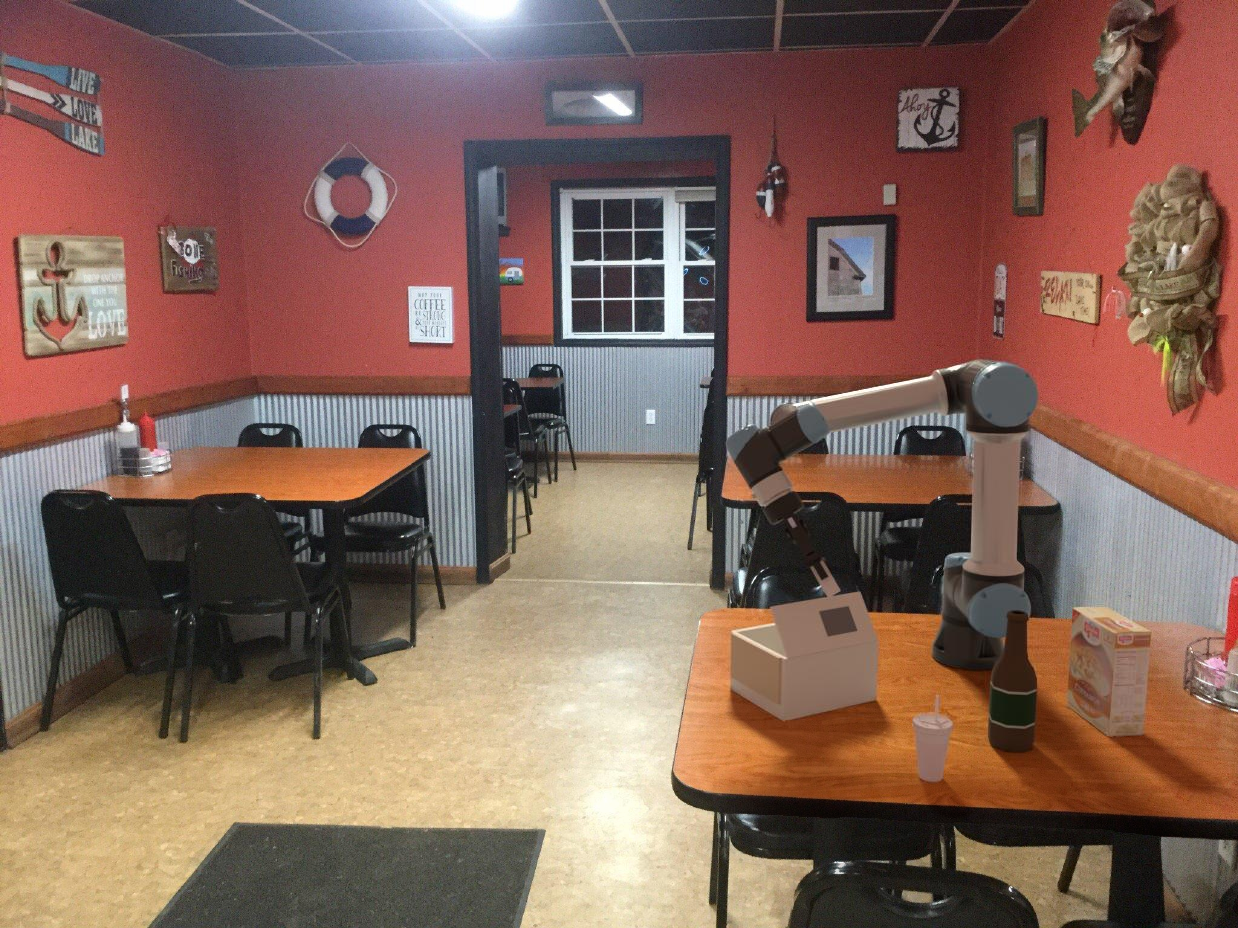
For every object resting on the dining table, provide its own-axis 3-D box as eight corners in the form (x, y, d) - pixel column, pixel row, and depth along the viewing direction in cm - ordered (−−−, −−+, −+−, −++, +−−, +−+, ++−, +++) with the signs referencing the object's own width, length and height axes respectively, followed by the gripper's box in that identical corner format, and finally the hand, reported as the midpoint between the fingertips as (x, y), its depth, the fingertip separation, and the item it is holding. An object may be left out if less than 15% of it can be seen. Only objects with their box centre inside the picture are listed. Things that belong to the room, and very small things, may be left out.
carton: (726, 688, 214) (726, 631, 212) (819, 669, 224) (821, 614, 222) (780, 721, 197) (782, 659, 195) (878, 699, 208) (881, 640, 206)
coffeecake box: (1064, 704, 205) (1071, 606, 201) (1100, 703, 205) (1107, 605, 202) (1106, 737, 190) (1114, 632, 187) (1145, 735, 191) (1153, 630, 187)
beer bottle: (1028, 757, 182) (1037, 621, 178) (982, 747, 186) (989, 614, 182) (1038, 740, 189) (1046, 609, 185) (992, 731, 193) (999, 603, 189)
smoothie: (955, 785, 172) (959, 703, 170) (915, 785, 172) (919, 703, 170) (944, 767, 178) (948, 688, 176) (905, 767, 178) (909, 688, 176)
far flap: (769, 607, 200) (771, 606, 199) (858, 592, 209) (860, 591, 208) (786, 658, 196) (788, 657, 195) (876, 640, 205) (878, 639, 205)
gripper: (765, 513, 222) (818, 603, 217) (756, 503, 197) (816, 604, 193) (797, 495, 221) (851, 585, 217) (792, 483, 197) (852, 584, 192)
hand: (834, 594), depth 205 cm, fingers open, 13 cm apart
